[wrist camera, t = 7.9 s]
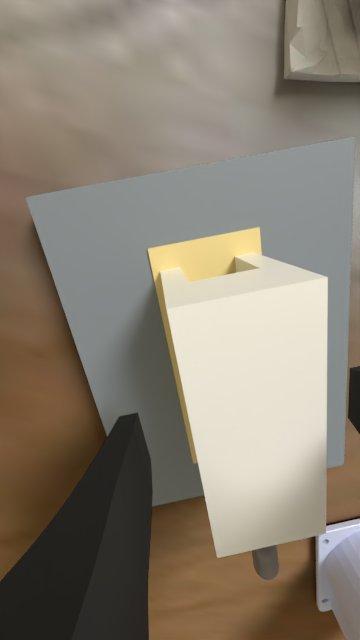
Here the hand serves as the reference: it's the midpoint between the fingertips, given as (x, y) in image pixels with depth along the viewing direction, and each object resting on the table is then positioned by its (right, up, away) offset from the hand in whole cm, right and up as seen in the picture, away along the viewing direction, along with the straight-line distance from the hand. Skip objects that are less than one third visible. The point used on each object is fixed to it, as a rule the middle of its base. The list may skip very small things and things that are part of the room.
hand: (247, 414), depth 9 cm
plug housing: (0, 0, +4) cm, 4 cm away
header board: (-1, +2, +5) cm, 5 cm away
